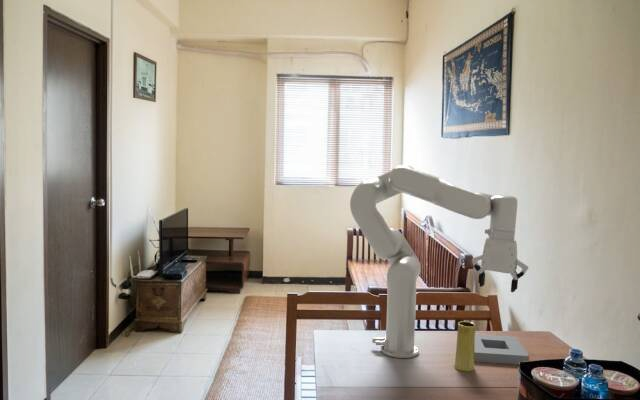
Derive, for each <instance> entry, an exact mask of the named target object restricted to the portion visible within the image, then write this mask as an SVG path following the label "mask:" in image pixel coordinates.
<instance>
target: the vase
mask: <svg viewBox="0 0 640 400" xmlns="http://www.w3.org/2000/svg"><path fill="white" fill-rule="evenodd" d="M475 334H476V324H475V323H474V322H471V321H468V320H467V321H466V320H464V321H463V320H461V321H459V322H457V339H456V348H455V349H456V351H455V357H454V368H455V369H456V370H458V371H462V372H473V371H474V370H475V361H474V347H475Z"/></svg>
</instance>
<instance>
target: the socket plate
mask: <svg viewBox="0 0 640 400" xmlns="http://www.w3.org/2000/svg"><path fill="white" fill-rule="evenodd" d="M523 361H530V355H529V354H528V352H527V350H526V349H525V348H524V346H523V345H522V343H521V342H520V341H519V339H518V338H517V336H511V335H510V336H509V335H495V334H482V333H481V334H480V333H479V334H478V333H475V347H474V362H478V363H492V364H493V363H494V364H509V365H519V364H518V363H519V362H523Z"/></svg>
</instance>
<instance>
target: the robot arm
mask: <svg viewBox="0 0 640 400" xmlns="http://www.w3.org/2000/svg"><path fill="white" fill-rule="evenodd" d="M401 193H403V194H406V195H409V196H411V197H414V198H417V199H420V200H423V201H425V202H428V203H431V204H433V205H435V206H438V207H441V208H443V209H445V210H448V211H450V212H453V213H456V214H458V215H462V216H464V217H467V218H470V219H472V220H473V219H474V220H482V219H484V218H486V217H487V216H490V220H489V222H490V223H489V228H488V229H487V228H486V229H485V230H484V234H485V235H488V237H486V238H485V242H484V245H483V250H482V254H481V255H479V256H476V257H473V258H471V263H472V265H473V268H474V269H475V270H476V271H477V273H478V284H479V287H480V288H482V287H484V286H485V281H486V272H485V271H490V272H496V273H504V274H510V276H511V277H512V279H511V285H510V292H511V293H515V291H516V290H518V285H519V279H521V278H522V277H524V275H525V274H526V273H527V271H528V270H529V268H530V267H529V266H528V265H526V264H525V263H524V262H522V261H520V260H519V259H518V243H517V240H515V235H516V223H517V213H518V212H517V211H518V198H516V197H515V196H512V195H503V194H499V195H496V194H489V193H484V192H475V193H474V192H471V191H468V190H465V189H462V188H460V187H458V186H456V185H455V186H454V185H452V184H450V183H449V182H448V181H446V180H445V179H443V178H442V177H439V176H436V175H432V174H430V173H426V172H423V171H420V170H418V169H415V168H414V167H412V166H411V165H408V164H401V165H397V166H395V167H393V168H392V169H391V170H390V171H388V172H385V173H384V174H381V175H378V176H377V177H374V178H371V179H366V180H363V181H362V182H360V183H359V184H358V185H357V186H356V187H355V188H354V189H353V192H352V194H351V196H350V201H349V206H350V211H351V215H352V217H353V219H354V221H355V223H356V224H357V226H358V228H359V229H360V230H361V233H362V235H363V236H364V237H365V240H366V241H367V242H368V244H369V246H370V247H371V249H372V251H373V253H374V255H376V257H377V258H379V259H380V260H385V261H386V260H387V262H388V263H389V264H390V265H389V267H388V269H387V272H386V287H387V289H386V290H387V292H386V293H387V295H386V297H387V298H386V299H387V300H386V320H385V321H386V325H385V326H386V327H385V334H384V336H381V337H375V336H373V337H372V339H371V342H372V344H375V345H376V346H380V351H381V353H383V354H384V355H386V356H388V357H392V358H395V359H396V358H397V359H410V358H414V357H416V356H418V355H419V352H420V351H419V348H418V347H417V346H416V345H415V333H416V332H415V330H416V312H417V311H416V309H417V279H418V278H419V276H420V274H421V271H422V266H421V263H420V260H419V259H418V256H417V254H415V251H414V250H413V249H412V247H411V246H410V244H409V242H408V241H407V239H406V238H405V236H404V235H403V233H402V232H401V231H400V230H398V229H397V228H393V227H390V226H389V225H388V224H387V222H386V221H385V219H384V217H383V216H382V214H381V213H380V211H378V209H377V204H379V203H381V202H383V201H386V200H388V199H390V198H392V197H395V196H397V195H399V194H401ZM478 261H481V265H480V264H479V262H478ZM518 267H519V268H521V271H520V272H519V273H518V272H517V268H518Z"/></svg>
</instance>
